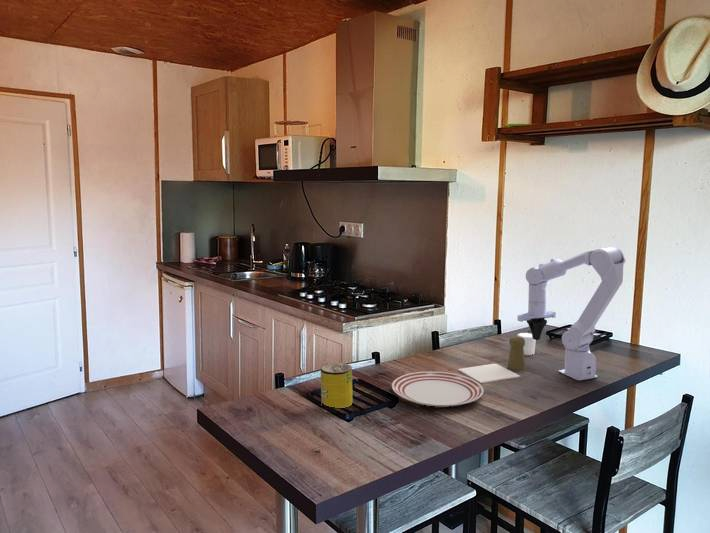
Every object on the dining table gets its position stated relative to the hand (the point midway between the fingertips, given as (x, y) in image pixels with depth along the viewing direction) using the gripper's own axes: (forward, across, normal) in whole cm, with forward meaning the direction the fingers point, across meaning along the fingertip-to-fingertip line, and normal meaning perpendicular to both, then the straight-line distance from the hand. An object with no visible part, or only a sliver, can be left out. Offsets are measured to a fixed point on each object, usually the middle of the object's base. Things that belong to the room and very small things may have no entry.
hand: (536, 339), depth 193 cm
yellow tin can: (+9, +77, +10) cm, 78 cm away
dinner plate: (+9, +46, +13) cm, 49 cm away
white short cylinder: (+9, -5, -12) cm, 15 cm away
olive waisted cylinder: (+9, +9, +2) cm, 13 cm away
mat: (+9, +21, +3) cm, 23 cm away
